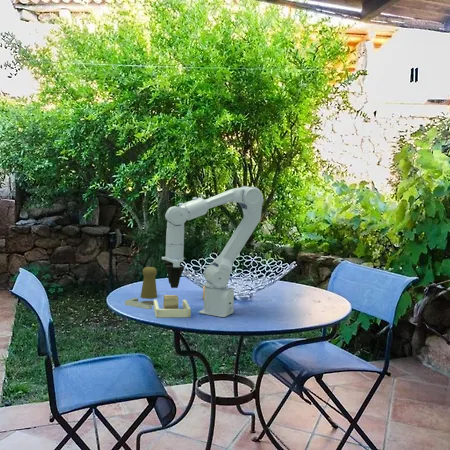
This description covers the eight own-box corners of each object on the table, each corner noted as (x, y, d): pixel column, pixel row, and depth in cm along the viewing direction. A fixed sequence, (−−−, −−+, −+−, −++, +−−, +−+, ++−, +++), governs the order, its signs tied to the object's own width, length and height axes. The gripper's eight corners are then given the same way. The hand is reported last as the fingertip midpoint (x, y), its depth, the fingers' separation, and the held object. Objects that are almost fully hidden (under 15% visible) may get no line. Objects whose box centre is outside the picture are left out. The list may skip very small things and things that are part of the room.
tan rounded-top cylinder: (218, 298, 186) (219, 285, 186) (212, 301, 182) (213, 288, 181) (206, 296, 188) (207, 283, 188) (200, 299, 184) (200, 286, 183)
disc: (160, 302, 176) (160, 302, 176) (150, 306, 170) (150, 305, 170) (145, 300, 178) (145, 299, 178) (136, 303, 173) (136, 303, 173)
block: (177, 311, 166) (178, 298, 165) (164, 311, 165) (164, 298, 165) (176, 308, 170) (177, 295, 170) (163, 308, 169) (163, 295, 169)
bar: (158, 306, 172) (158, 301, 172) (149, 309, 167) (149, 305, 167) (134, 301, 176) (134, 297, 176) (124, 305, 171) (124, 300, 171)
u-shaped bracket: (190, 317, 159) (190, 309, 159) (156, 317, 157) (156, 309, 157) (185, 306, 172) (185, 299, 172) (153, 307, 170) (153, 299, 170)
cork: (158, 295, 187) (159, 266, 186) (155, 299, 181) (156, 269, 180) (143, 294, 188) (143, 265, 187) (138, 298, 182) (139, 268, 181)
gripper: (160, 240, 166) (159, 280, 168) (164, 246, 152) (162, 290, 153) (181, 241, 168) (180, 280, 169) (187, 247, 154) (185, 290, 155)
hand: (173, 285), depth 161 cm, fingers open, 6 cm apart
